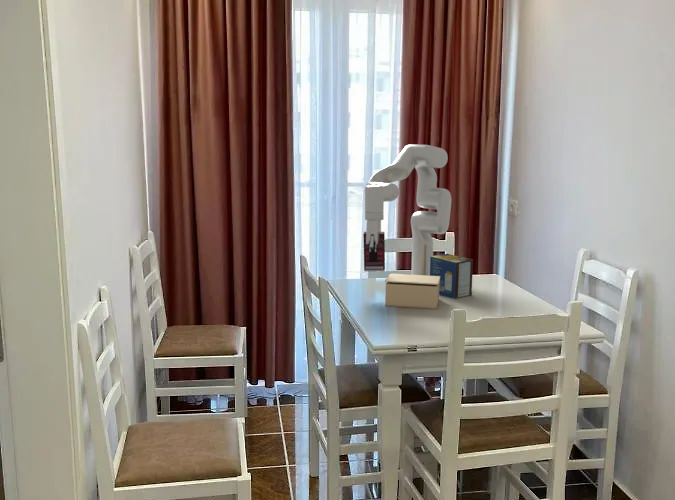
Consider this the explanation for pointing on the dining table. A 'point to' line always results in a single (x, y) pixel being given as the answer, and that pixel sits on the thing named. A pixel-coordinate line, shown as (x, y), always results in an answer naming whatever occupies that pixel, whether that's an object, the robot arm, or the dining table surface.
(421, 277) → the flap
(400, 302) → the carton
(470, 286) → the protein box
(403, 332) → the dining table surface
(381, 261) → the supplement box
